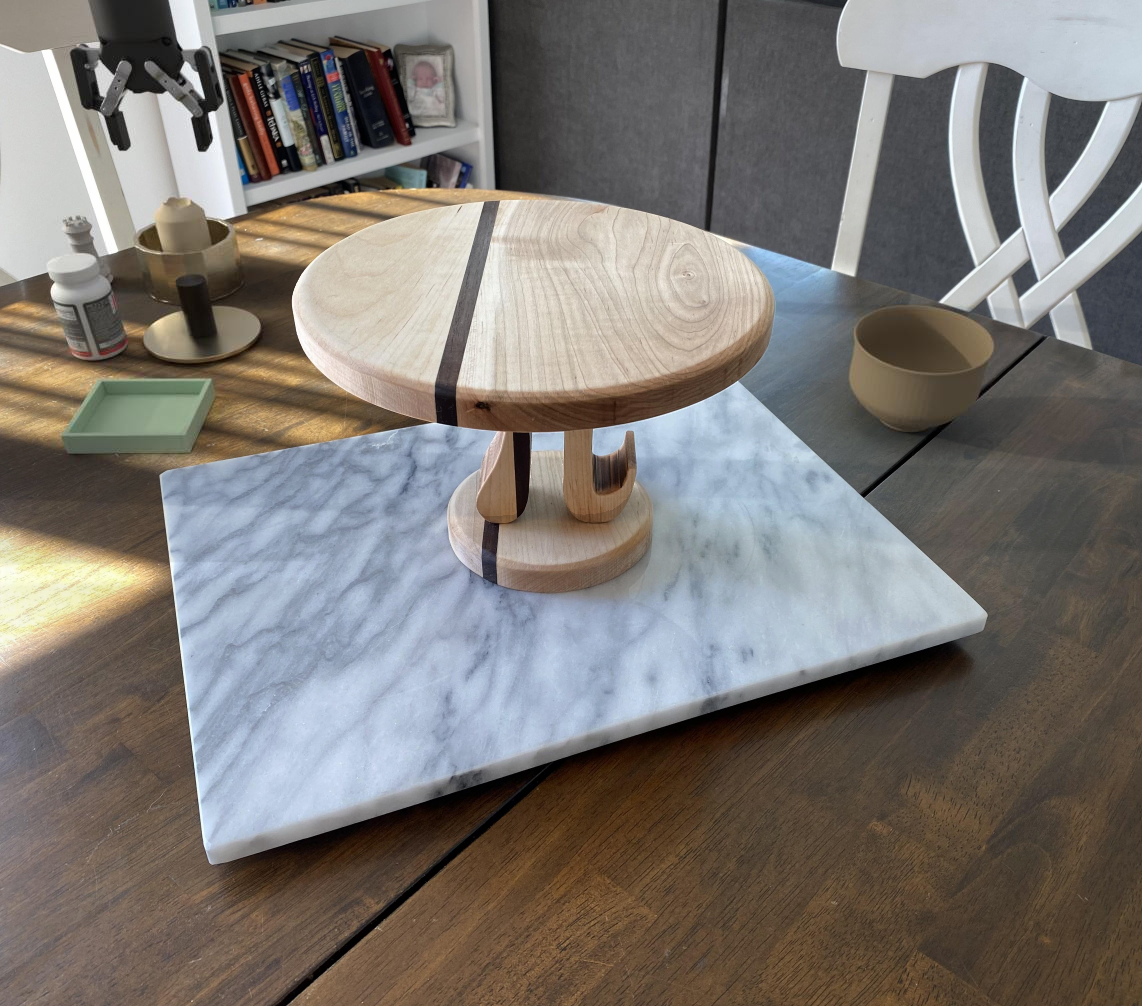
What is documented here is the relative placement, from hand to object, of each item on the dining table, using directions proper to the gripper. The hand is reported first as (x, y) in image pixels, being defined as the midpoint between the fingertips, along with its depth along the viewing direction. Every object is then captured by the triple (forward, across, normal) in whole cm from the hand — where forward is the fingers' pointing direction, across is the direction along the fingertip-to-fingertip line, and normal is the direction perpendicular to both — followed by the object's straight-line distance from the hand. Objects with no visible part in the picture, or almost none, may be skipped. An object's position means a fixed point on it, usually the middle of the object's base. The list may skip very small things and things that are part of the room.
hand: (165, 149), depth 103 cm
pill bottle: (+16, -6, -16) cm, 24 cm away
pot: (+16, 0, 0) cm, 16 cm away
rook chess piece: (+16, -12, 0) cm, 20 cm away
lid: (+15, +4, -14) cm, 21 cm away
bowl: (+17, +77, -31) cm, 84 cm away
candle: (+16, 0, 0) cm, 16 cm away
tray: (+16, +3, -30) cm, 35 cm away
